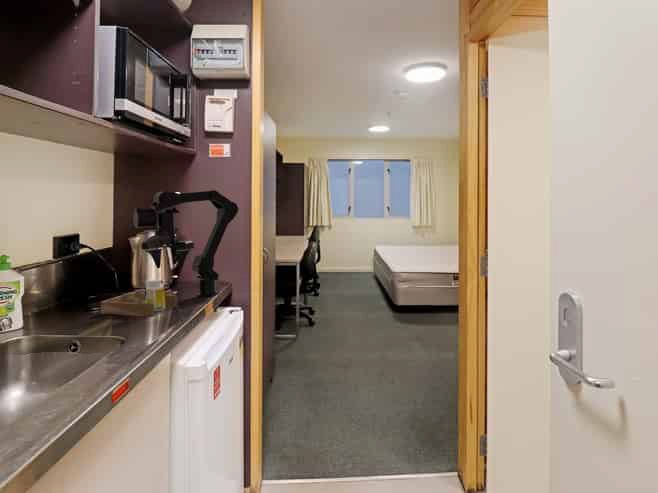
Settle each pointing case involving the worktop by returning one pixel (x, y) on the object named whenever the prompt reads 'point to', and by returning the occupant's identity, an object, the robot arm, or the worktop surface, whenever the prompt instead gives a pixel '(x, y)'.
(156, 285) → the supplement bottle
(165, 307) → the end tile
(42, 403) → the worktop surface
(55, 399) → the worktop surface
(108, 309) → the channel
